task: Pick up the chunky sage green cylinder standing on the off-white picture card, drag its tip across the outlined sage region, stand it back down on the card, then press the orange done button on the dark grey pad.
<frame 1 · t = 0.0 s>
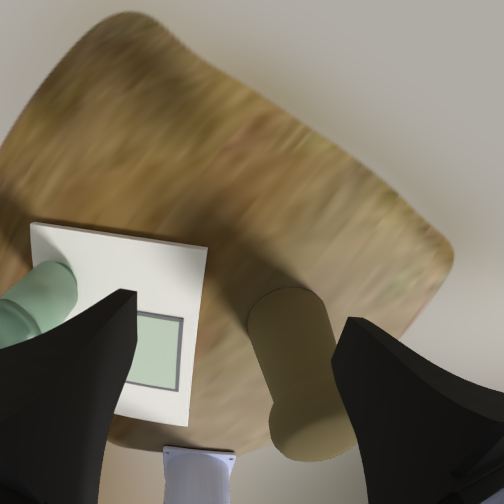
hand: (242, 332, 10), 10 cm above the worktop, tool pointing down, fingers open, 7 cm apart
green cylinder: (60, 281, 19), point 1 cm above the worktop, touching picture card
picture card: (114, 342, 21), on the worktop
olive brown cylinder: (287, 321, 22), on the worktop
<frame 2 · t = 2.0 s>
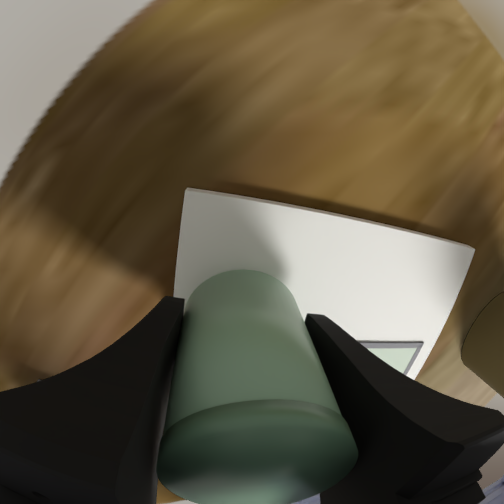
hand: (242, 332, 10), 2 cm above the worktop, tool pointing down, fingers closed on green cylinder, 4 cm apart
green cylinder: (239, 307, 11), point 1 cm above the worktop, touching gripper, picture card
picture card: (301, 391, 14), on the worktop
olive brown cylinder: (491, 328, 15), on the worktop
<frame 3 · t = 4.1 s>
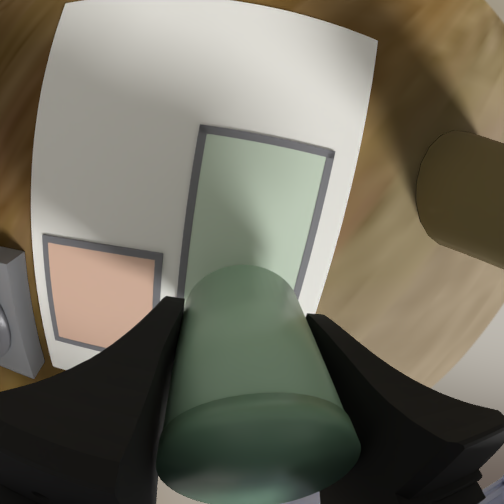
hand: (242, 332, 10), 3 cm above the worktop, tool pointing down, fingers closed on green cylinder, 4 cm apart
green cylinder: (240, 303, 11), point 2 cm above the worktop, touching gripper
picture card: (173, 220, 12), on the worktop
olive brown cylinder: (458, 189, 12), on the worktop
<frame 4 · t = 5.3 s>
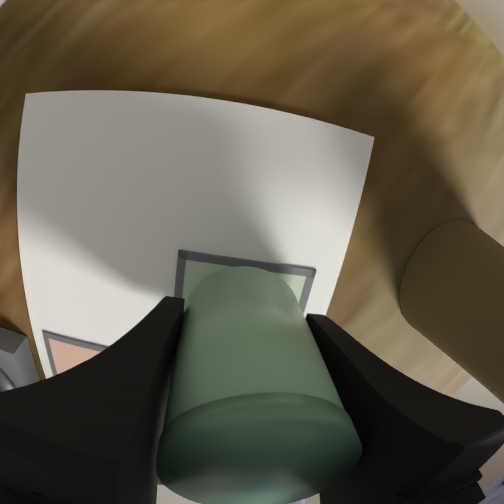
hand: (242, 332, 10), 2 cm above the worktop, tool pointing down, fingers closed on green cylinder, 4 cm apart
green cylinder: (240, 305, 11), point 1 cm above the worktop, touching gripper
picture card: (161, 326, 12), on the worktop
olive brown cylinder: (445, 276, 13), on the worktop
when the fingers open (3 cm above the worktop, at t = 6.3 s): green cylinder drops 1 cm, resting on picture card.
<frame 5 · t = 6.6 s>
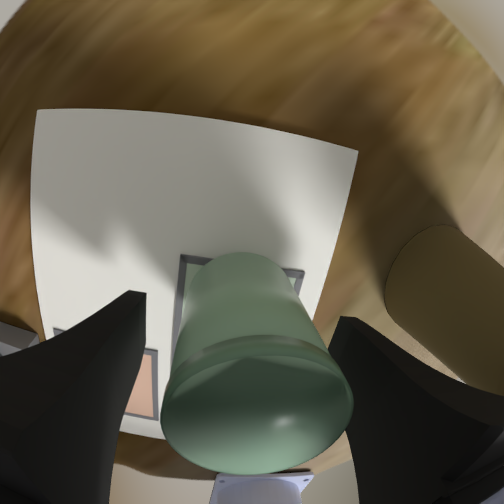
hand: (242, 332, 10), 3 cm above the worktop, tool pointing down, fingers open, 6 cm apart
green cylinder: (239, 292, 12), point 1 cm above the worktop, touching picture card
picture card: (164, 323, 13), on the worktop
olive brown cylinder: (429, 278, 14), on the worktop
button pad: (8, 362, 14), on the worktop
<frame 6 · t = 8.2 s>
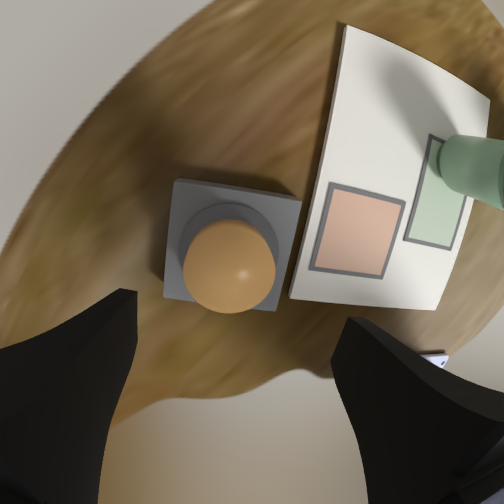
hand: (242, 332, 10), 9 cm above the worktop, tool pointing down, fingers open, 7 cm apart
green cylinder: (451, 161, 17), point 1 cm above the worktop, touching picture card
picture card: (407, 183, 18), on the worktop
done button: (229, 266, 15), point 4 cm above the worktop, slide at 0.0 cm
button pad: (228, 242, 19), on the worktop
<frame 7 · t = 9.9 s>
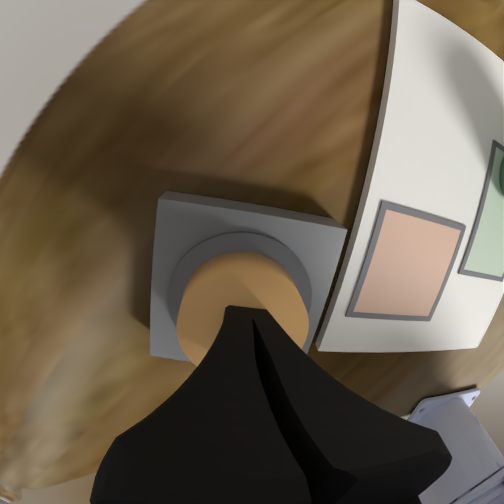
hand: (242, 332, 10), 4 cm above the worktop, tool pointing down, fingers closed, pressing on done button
picture card: (466, 201, 13), on the worktop
done button: (241, 318, 11), point 3 cm above the worktop, slide at 0.7 cm, touching gripper
button pad: (238, 282, 13), on the worktop
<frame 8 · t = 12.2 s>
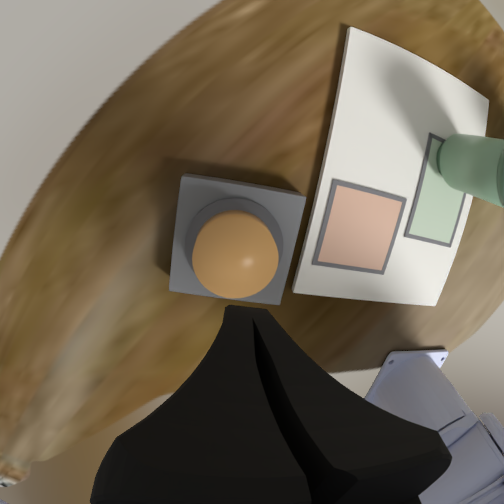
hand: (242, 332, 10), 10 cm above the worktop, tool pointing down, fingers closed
green cylinder: (451, 159, 17), point 1 cm above the worktop, touching picture card
picture card: (407, 181, 19), on the worktop
done button: (234, 254, 16), point 3 cm above the worktop, slide at 0.7 cm
button pad: (233, 237, 19), on the worktop
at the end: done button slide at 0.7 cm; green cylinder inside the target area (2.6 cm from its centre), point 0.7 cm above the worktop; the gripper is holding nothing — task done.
